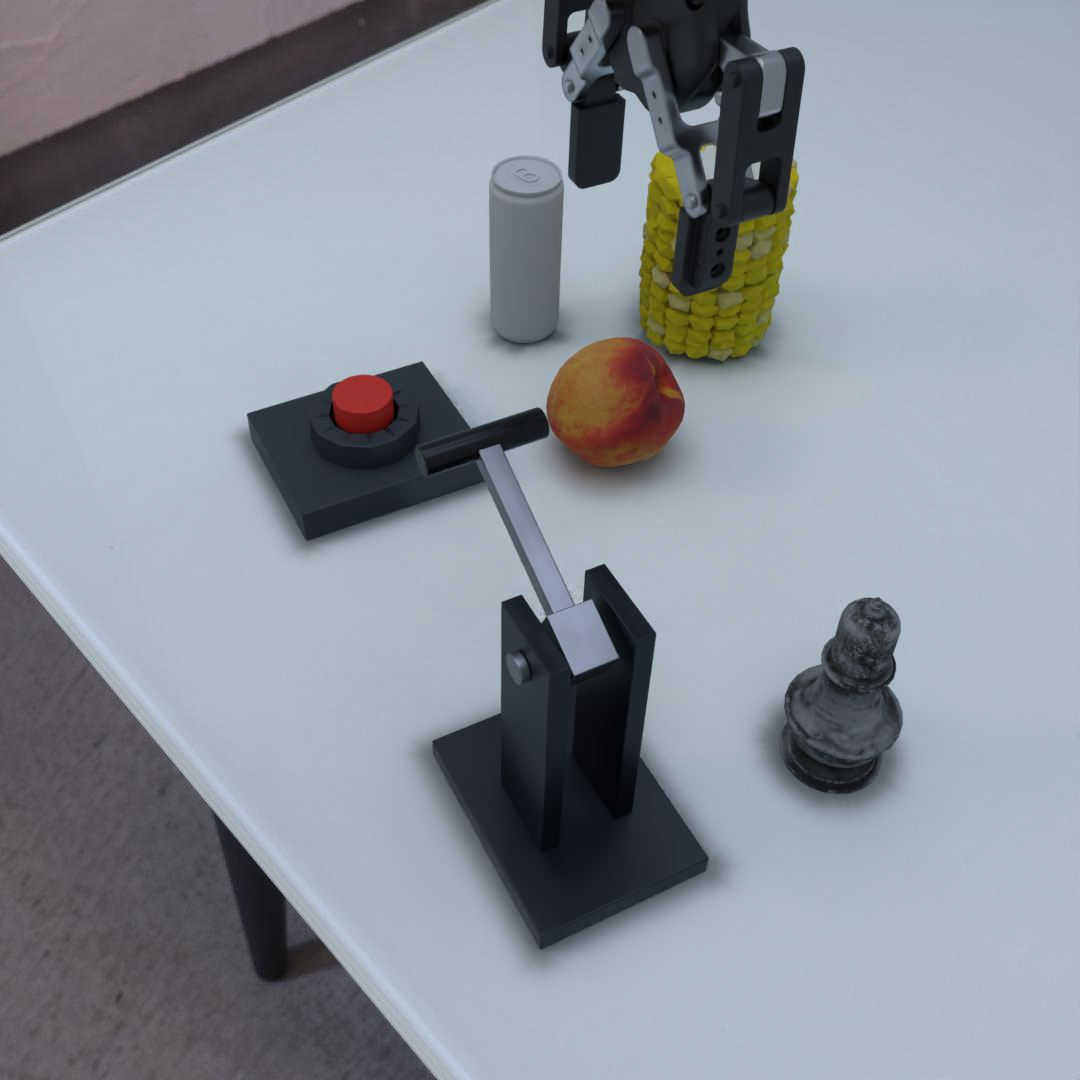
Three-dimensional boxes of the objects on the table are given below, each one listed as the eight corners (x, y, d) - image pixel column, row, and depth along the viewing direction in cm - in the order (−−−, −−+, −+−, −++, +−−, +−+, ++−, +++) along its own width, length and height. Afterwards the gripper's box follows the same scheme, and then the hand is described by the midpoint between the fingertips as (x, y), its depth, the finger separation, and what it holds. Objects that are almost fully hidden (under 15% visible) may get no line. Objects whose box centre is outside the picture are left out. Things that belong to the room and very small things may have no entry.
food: (762, 312, 96) (747, 403, 90) (611, 260, 96) (585, 349, 89) (848, 139, 85) (838, 230, 78) (677, 79, 84) (652, 166, 78)
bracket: (432, 753, 67) (420, 557, 56) (586, 691, 70) (602, 493, 59) (540, 950, 60) (549, 767, 49) (706, 870, 63) (749, 682, 52)
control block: (306, 541, 77) (298, 492, 74) (251, 439, 83) (242, 390, 80) (489, 479, 81) (489, 431, 78) (424, 386, 87) (421, 338, 84)
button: (347, 441, 78) (345, 419, 77) (325, 406, 80) (323, 384, 79) (403, 424, 79) (401, 402, 78) (380, 389, 81) (378, 367, 80)
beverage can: (521, 356, 90) (523, 202, 81) (475, 323, 92) (473, 171, 83) (572, 328, 92) (580, 176, 83) (526, 296, 94) (529, 146, 86)
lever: (411, 458, 58) (417, 436, 56) (530, 420, 60) (542, 396, 58) (520, 707, 55) (532, 693, 53) (643, 657, 57) (659, 642, 55)
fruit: (634, 512, 80) (644, 412, 74) (522, 461, 82) (524, 361, 77) (694, 440, 84) (709, 341, 78) (587, 394, 87) (593, 295, 81)
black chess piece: (764, 781, 66) (803, 629, 58) (784, 692, 70) (823, 538, 62) (880, 812, 65) (938, 662, 57) (894, 720, 69) (950, 567, 61)
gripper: (485, -249, 45) (486, 170, 57) (705, -105, 37) (653, 354, 48) (670, -273, 48) (635, 133, 60) (917, -143, 39) (819, 302, 51)
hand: (643, 232), depth 54 cm, fingers open, 8 cm apart
